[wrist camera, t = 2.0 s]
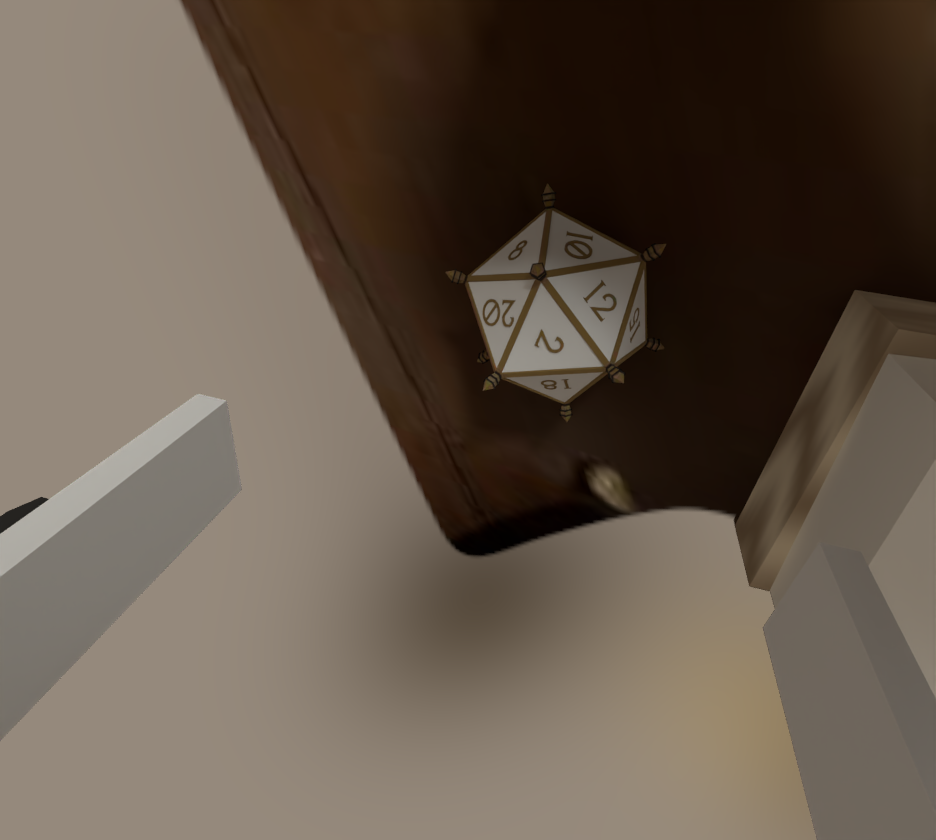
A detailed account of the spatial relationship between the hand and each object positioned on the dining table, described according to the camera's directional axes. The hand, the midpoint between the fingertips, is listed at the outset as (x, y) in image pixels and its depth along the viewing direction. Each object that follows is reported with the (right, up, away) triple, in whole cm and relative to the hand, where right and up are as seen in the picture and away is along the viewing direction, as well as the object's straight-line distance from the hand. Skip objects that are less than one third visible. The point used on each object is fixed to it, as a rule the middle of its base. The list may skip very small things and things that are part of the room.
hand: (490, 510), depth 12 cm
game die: (+4, +9, +14) cm, 17 cm away
